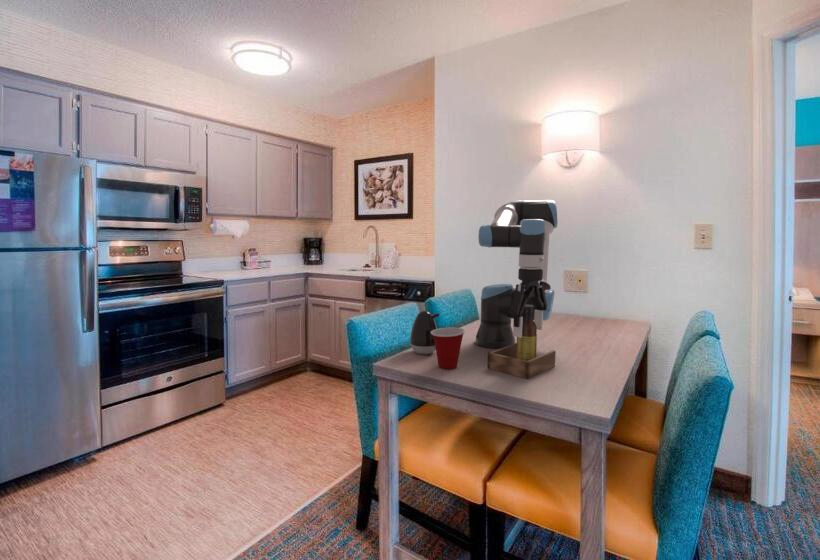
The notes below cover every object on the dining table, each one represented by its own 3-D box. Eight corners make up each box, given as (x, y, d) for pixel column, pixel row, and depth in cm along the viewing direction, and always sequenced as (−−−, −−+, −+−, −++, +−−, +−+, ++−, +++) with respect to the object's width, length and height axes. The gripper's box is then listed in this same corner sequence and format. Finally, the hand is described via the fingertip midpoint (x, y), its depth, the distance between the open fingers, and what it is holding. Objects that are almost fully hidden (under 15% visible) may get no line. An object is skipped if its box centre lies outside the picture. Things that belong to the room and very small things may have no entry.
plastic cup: (428, 361, 139) (429, 326, 138) (460, 361, 140) (461, 326, 139) (431, 372, 128) (432, 333, 127) (466, 372, 129) (467, 333, 128)
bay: (487, 368, 133) (487, 352, 132) (516, 356, 146) (516, 342, 145) (527, 379, 123) (528, 362, 123) (554, 365, 136) (555, 350, 136)
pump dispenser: (439, 356, 145) (440, 313, 143) (409, 356, 145) (409, 313, 144) (438, 349, 155) (439, 308, 153) (410, 348, 155) (410, 307, 154)
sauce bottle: (522, 361, 141) (524, 302, 139) (539, 365, 137) (542, 305, 135) (512, 365, 136) (514, 305, 134) (529, 369, 132) (531, 307, 130)
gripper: (521, 271, 122) (519, 342, 125) (559, 266, 140) (556, 328, 143) (499, 269, 127) (497, 337, 130) (538, 264, 145) (535, 324, 148)
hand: (528, 332), depth 136 cm, fingers open, 13 cm apart
